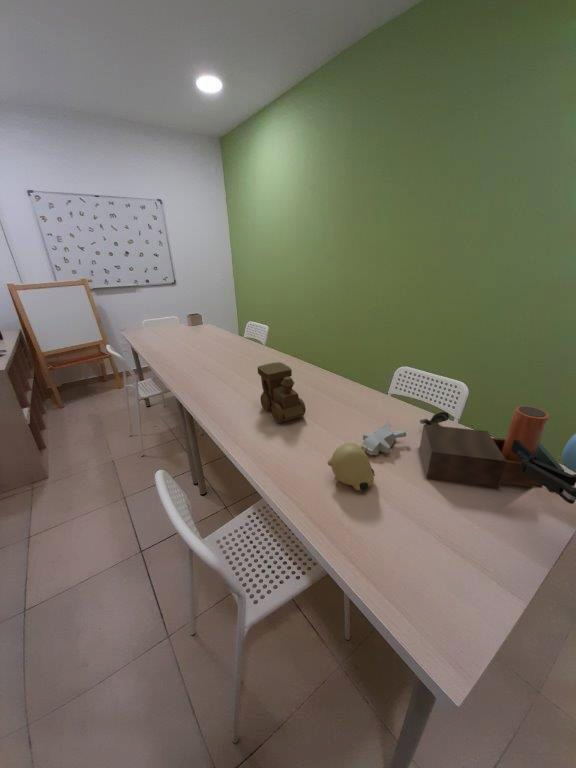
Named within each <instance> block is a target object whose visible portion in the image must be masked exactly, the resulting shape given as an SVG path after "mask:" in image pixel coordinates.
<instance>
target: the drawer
mask: <svg viewBox="0 0 576 768" xmlns="http://www.w3.org/2000/svg"><path fill="white" fill-rule="evenodd" d="M492 439H493V440H494V442H495V444H496V445H497V447H498V448H499V450H500V451H501V452H502V449H503V445H504V442H505V439H506V438H500V437H492ZM535 456H536V457H537V461H540V462H542V463H545V464H547V465H550V466H552V467H554V468H557V469H559V470H562V471H564V472H566V471H565V469H564V467H562V465H561V464H560V463H559V462H558V461H557V460H556V458H555V457H554V456H553V455H552V454H551V452H549V451H548V450H547V449H546V447H545V446H544V444H542V443H541V442H540V443H539V446H538V449H537V451H536V454H535ZM506 461H507V462H506V465H505V468H504V471H503V474H502V477H501V480H500V483H504V484H510V485H517V486H525V487H531V488H540V489H543V487H544V486H543V485H541V484H539V483H538V482H536V481H534V480H533V479H531V478H529V477H527V476H526V475H524V474H522V473H521V472H519V471H518V470H519V467H520V464H521V462H517V461H509V460H506ZM535 466H536V465H535ZM546 490H547V491H548V492H549V493H553V494H556V493H555V492H553V491H551V490H550V489H548V488H546Z"/></svg>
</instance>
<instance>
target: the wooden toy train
mask: <svg viewBox="0 0 576 768" xmlns="http://www.w3.org/2000/svg"><path fill="white" fill-rule="evenodd" d="M292 371H293V369H292V368H290V366H288V365H286V364H285V363H283V362H280V361H279V362H271V363H270V362H269V363H266V364H265V363H264V364H262V365H259V366H257V374H258V375H259V376H260V380H261V387H262V393H261V395H260V404H261V407H262V409H263V410H264V411H266V412H267V411H270V410H272V411H271V413H272V417H273V419H274V420H275V422H277V423H278V424H279V423H281V424H282V422H284V421H285V422H288V421H290V420H294V419H296V418H297V419H298V418H300V417H304V416H305V414H306V411H307V410H306V409H307V408H306V405H305V402H304V400H303V399H302V398H301V397H300V396H299V393H298V392H297V391H296V390H295V389H293V388H294V385H295V381H294V379H293V378H292V377H293V376H292V375H293V373H292Z"/></svg>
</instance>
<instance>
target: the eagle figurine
mask: <svg viewBox="0 0 576 768" xmlns="http://www.w3.org/2000/svg"><path fill="white" fill-rule="evenodd" d="M449 418H450V414H449V413H448V412H446V411H442V412H438V413H435V414H433V415H432V417H431V419H428V418H422V419H420V420H419V424H421V425H434V426H442V425H440V424H441V423H443V422H447V421H449Z"/></svg>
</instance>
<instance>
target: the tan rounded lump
mask: <svg viewBox="0 0 576 768" xmlns="http://www.w3.org/2000/svg"><path fill="white" fill-rule="evenodd" d="M327 466H329V467H331V470H332V473H333V475H334V480H335V482H341V483H343V484H345V485H348V486H352V488H353V489H354V490H355V491H359V492H360V491H361V492H365V491H367V490H368V489H369V488H370V487H371V486H372V484H373V482H374V480H375V479H374V478H375V475H376V474H375V470H374V469H373V468H372V464H371V462H370V460H369V457H368V455H367V454H366V452H365V451H363V450H362V448H361V445H360V446H359V445H358V444H357V443H355V442H349V443H345V444H341V445H340V446H338V447H337V448H336V449H335V450H334V452H333V454H332V456H331V458H330V459H328V461H327Z"/></svg>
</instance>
